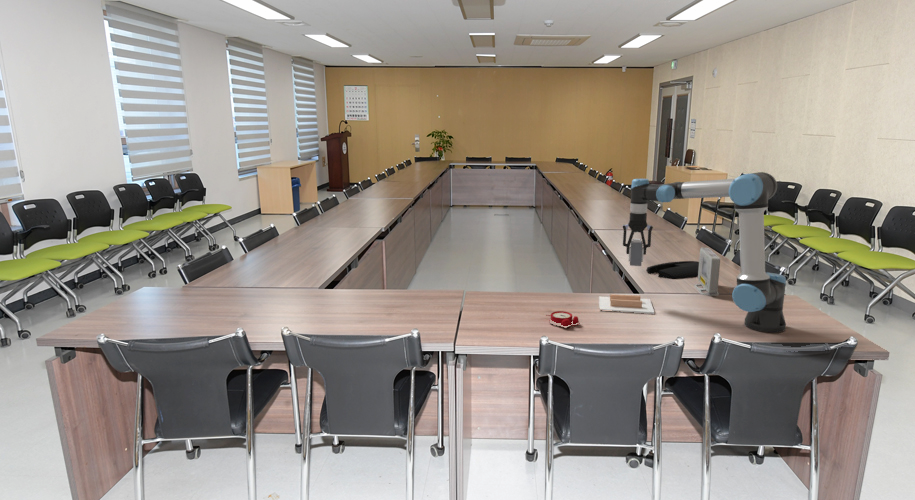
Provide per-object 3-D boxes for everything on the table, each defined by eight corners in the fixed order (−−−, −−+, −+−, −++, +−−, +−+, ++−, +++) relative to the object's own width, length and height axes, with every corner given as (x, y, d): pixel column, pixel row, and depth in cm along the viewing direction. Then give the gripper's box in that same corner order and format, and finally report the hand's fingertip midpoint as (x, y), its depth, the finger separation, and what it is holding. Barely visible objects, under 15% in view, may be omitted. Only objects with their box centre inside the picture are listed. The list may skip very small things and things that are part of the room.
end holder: (654, 314, 245) (654, 305, 244) (599, 311, 251) (599, 302, 250) (649, 300, 264) (650, 293, 263) (598, 298, 270) (599, 290, 269)
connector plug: (641, 266, 254) (642, 241, 251) (630, 265, 255) (631, 240, 253) (640, 263, 259) (642, 238, 256) (629, 263, 260) (631, 238, 257)
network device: (721, 297, 267) (725, 258, 263) (703, 297, 269) (706, 257, 264) (709, 283, 291) (712, 247, 287) (691, 283, 293) (694, 247, 289)
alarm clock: (559, 309, 244) (584, 310, 231) (561, 323, 244) (586, 325, 231) (542, 314, 238) (567, 315, 225) (544, 328, 238) (569, 330, 226)
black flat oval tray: (724, 273, 313) (725, 265, 312) (668, 281, 298) (669, 272, 297) (692, 264, 335) (692, 256, 334) (638, 271, 321) (639, 263, 320)
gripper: (658, 211, 253) (655, 260, 258) (618, 210, 257) (615, 258, 262) (659, 214, 246) (656, 263, 251) (618, 213, 250) (615, 262, 255)
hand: (635, 260), depth 256 cm, fingers closed on connector plug, 5 cm apart
